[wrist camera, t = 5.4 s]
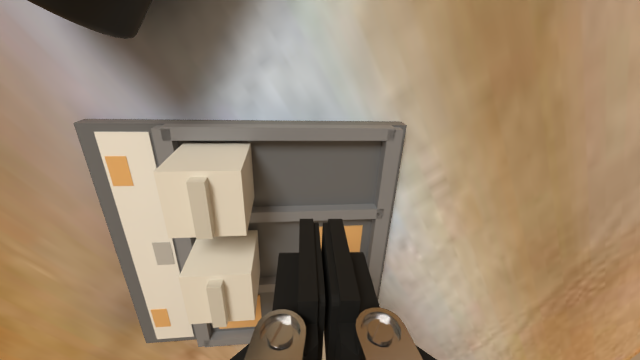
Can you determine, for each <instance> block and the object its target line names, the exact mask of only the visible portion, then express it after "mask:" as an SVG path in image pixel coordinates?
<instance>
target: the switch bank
mask: <svg viewBox="0 0 640 360" xmlns="http://www.w3.org/2000/svg"><path fill="white" fill-rule="evenodd" d="M74 126H75V129H76V132H77V135H78V138H79V141H80V144H81V147H82V150H83V153H84V156H85V159H86V162H87V165H88V168H89V171H90V174H91V178H92V181H93V184H94V187H95V190H96V193H97V196H98V199H99V202H100V205H101V208H102V211H103V214H104V217H105V220H106V223H107V226H108V229H109V232H110V235H111V238H112V241H113V244H114V247H115V250H116V253H117V256H118V259H119V262H120V265H121V268H122V271H123V274H124V277H125V280H126V283H127V286H128V289H129V292H130V295H131V298H132V301H133V304H134V307H135V310H136V313H137V316H138V319H139V322H140V325H141V328H142V332H143V335H144V338H145V341H146V343H154V342H167V341H180V340H194V339H197V342H198V347H203V346H205V347H213V346H225V345H238V344H250V341H251V338H252V335H253V332H254V329H255V327H256V325H257V323H258V321H259V320H260V319H261V318H262V317H263V316H264V315H266V314H267V313H269V312H271V311H272V308H273V300H274V291H275V282H276V274H277V265H278V256H279V253H299V224H300V219H313V222H319V231H320V242H321V248H322V227H323V222H328V219H342V220H343V224H344V229H345V233H346V238H347V242H348V246H349V251H350V252H363V253H364V255H365V259H366V262H367V265H368V269H369V272H370V276H371V279H372V283H373V286H374V290H375V293H376V296H377V300H378V296H379V290H380V284H381V278H382V272H383V266H384V260H385V254H386V247H387V241H388V235H389V229H390V223H391V217H392V211H393V205H394V199H395V193H396V187H397V180H398V174H399V168H400V162H401V156H402V150H403V144H404V138H405V132H406V126H407V125H405V124H404V123H402V122H373V121H256V120H139V119H83V120H80V121H78V122H75V123H74ZM183 143H251V155H252V169H253V183H254V202H253V206H252V211H251V216H250V221H249V226H248V230H258V245H259V259H260V278H259V287H258V296H257V306H256V315H255V320H245V321H231V322H228V323H227V327H217V328H213V324H212V323H202V324H189V322H188V317H187V313H186V309H185V304H184V300H183V295H182V291H181V287H180V282H179V275H180V273H181V271H182V269H183V267H184V265H185V262H186V260H187V258H188V256H189V254H190V251H191V249H192V247H193V245H194V243H195V241H196V237H192V238H168V234H167V230H166V225H165V221H164V216H163V212H162V208H161V203H160V199H159V195H158V190H157V186H156V182H155V177H154V173H153V171H154V170H156V169H157V168H158V167H159V166H160V165H161V164H162V163H163V162H164V161H165V160H166V159H167V158H168V157H169V156H170V155H171V154H172V153H173V152H174V151H175V150H176V149H178V148H179V147H180V146H181V145H182V144H183Z"/></svg>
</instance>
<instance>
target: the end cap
mask: <svg viewBox="0 0 640 360" xmlns="http://www.w3.org/2000/svg"><path fill="white" fill-rule="evenodd" d="M28 1H30V2H32V3H34V4H36V5H38V6H40V7H42V8H44V9H46V10H48V11H50V12H52V13H54V14H56V15H58V16H60V17H63V18H65V19H67V20H69V21H71V22H74V23H76V24H79V25H81V26H83V27H86V28H88V29H91V30H94V31H97V32H100V33H102V34H106V35H110V36H113V37H118V38H133V37H134V36H135V35H136V34H137V32H138V30H139V28H140V26H141V24H142V21H143V19H144V17H145V15H146V13H147V10H148V8H149V6H150V4H151V2H152V0H28Z"/></svg>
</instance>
